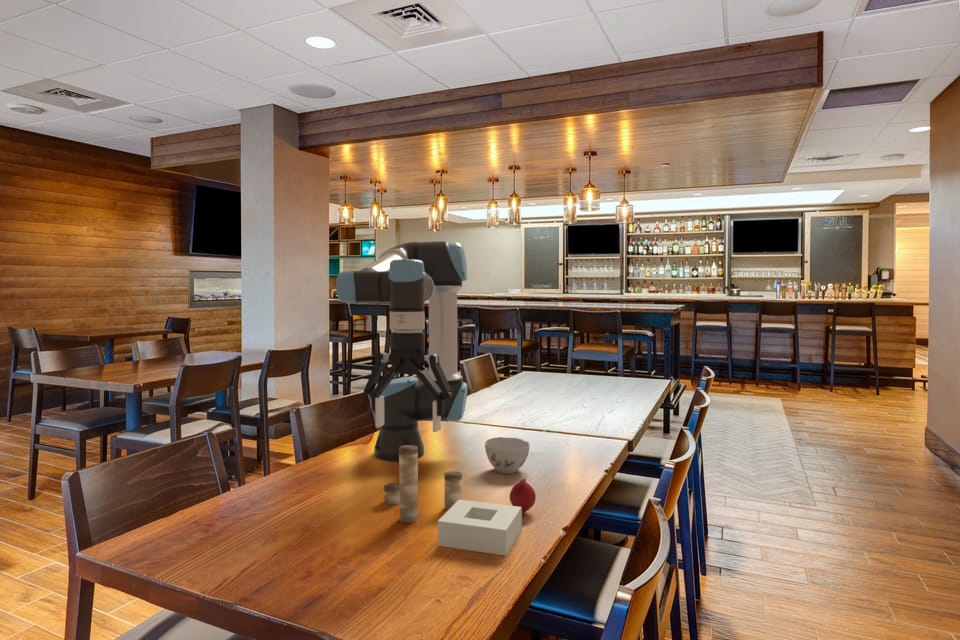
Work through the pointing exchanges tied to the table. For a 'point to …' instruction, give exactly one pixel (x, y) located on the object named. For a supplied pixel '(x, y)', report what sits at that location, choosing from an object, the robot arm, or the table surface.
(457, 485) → the medium dowel
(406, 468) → the long dowel
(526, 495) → the onion
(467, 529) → the hole block
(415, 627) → the table surface
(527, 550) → the table surface
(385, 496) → the short dowel
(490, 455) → the teacup
